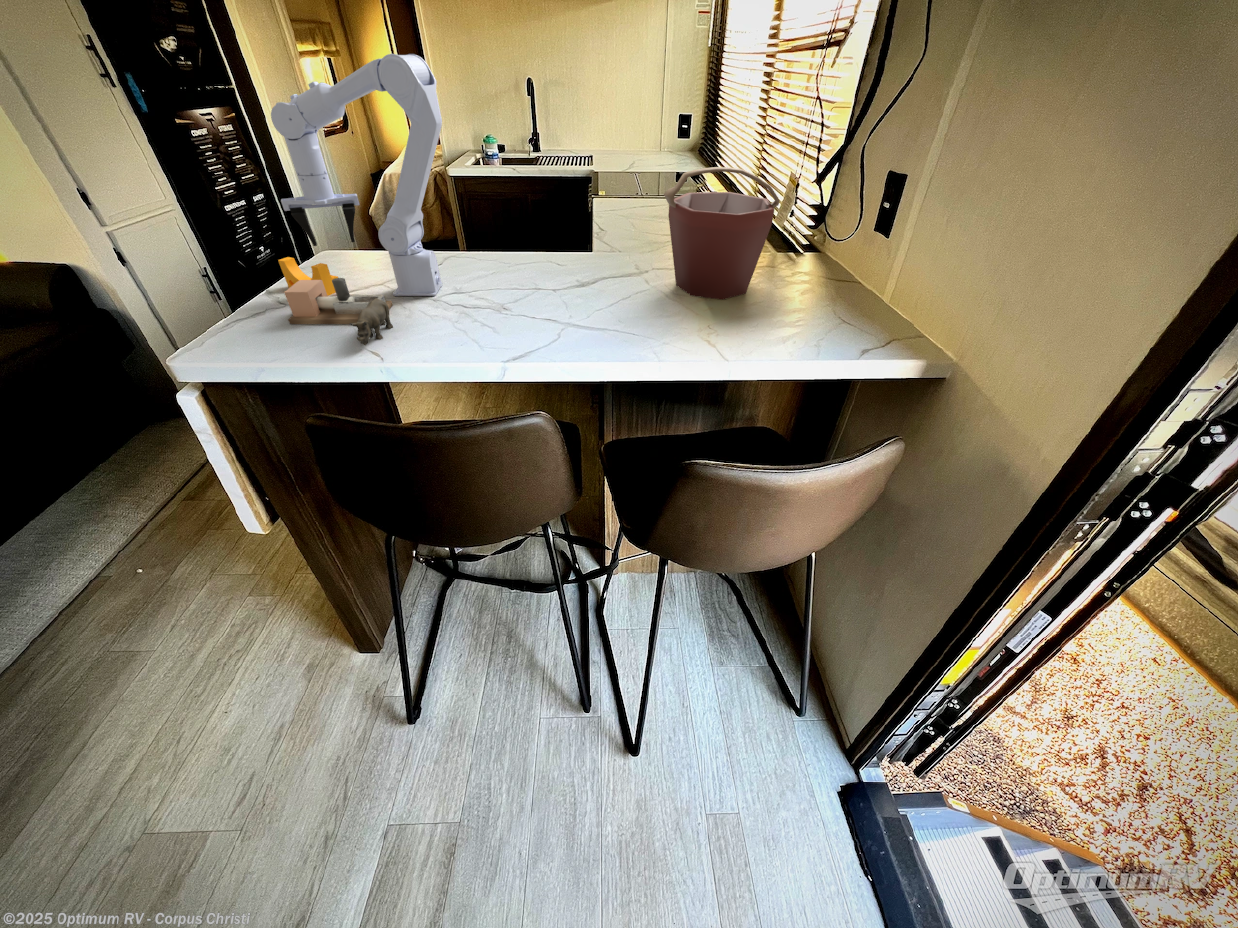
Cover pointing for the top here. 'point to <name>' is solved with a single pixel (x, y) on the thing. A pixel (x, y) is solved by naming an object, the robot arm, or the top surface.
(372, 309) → the rhino figurine
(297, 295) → the socket
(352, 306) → the channel
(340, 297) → the bolt
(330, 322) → the board
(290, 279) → the orange piece
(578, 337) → the top surface
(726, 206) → the bucket
